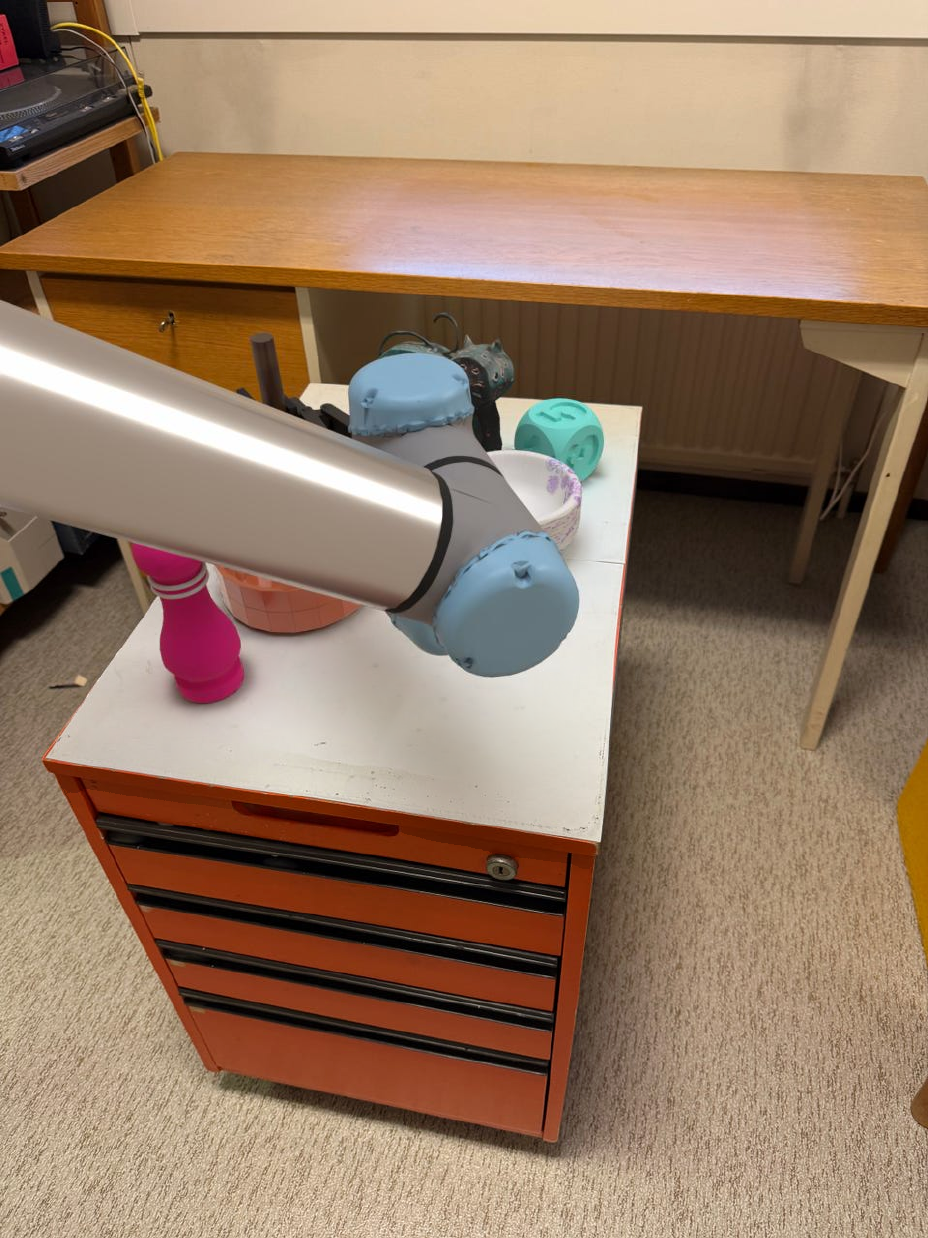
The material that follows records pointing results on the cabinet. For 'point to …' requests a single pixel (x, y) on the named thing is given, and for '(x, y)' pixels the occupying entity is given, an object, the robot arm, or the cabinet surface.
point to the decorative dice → (562, 434)
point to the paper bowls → (544, 490)
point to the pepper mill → (192, 627)
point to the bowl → (278, 603)
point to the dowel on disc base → (268, 370)
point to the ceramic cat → (471, 377)
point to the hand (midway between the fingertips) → (256, 397)
